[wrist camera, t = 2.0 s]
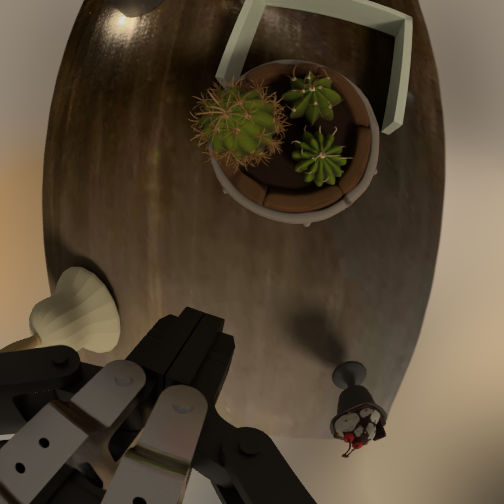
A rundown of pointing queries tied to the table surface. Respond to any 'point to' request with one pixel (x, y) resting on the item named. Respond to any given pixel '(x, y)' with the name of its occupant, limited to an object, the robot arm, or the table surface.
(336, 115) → the flowerpot
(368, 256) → the table surface
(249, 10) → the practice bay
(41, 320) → the handbell
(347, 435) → the sundae
